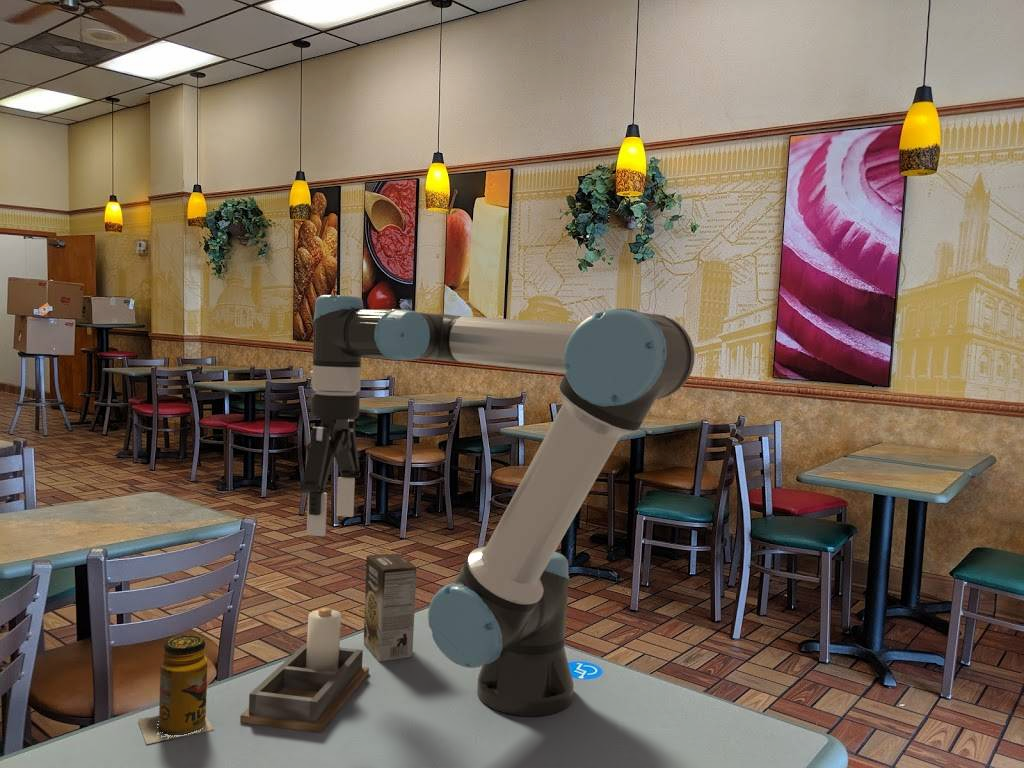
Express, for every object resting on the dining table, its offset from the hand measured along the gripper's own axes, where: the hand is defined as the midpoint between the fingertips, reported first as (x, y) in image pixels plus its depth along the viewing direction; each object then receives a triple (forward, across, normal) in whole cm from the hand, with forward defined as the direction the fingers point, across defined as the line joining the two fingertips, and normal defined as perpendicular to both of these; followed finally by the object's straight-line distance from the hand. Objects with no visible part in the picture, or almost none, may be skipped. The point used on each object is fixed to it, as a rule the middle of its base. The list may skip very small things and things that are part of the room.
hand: (331, 525), depth 126 cm
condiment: (+25, +20, -14) cm, 35 cm away
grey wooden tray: (+25, +8, 0) cm, 26 cm away
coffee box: (+25, -12, +7) cm, 28 cm away
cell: (+24, +3, 0) cm, 24 cm away
